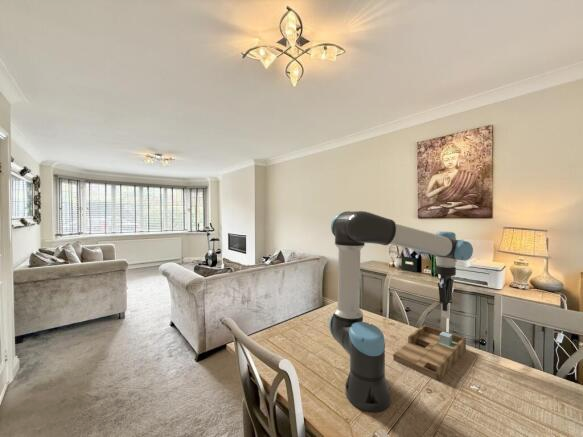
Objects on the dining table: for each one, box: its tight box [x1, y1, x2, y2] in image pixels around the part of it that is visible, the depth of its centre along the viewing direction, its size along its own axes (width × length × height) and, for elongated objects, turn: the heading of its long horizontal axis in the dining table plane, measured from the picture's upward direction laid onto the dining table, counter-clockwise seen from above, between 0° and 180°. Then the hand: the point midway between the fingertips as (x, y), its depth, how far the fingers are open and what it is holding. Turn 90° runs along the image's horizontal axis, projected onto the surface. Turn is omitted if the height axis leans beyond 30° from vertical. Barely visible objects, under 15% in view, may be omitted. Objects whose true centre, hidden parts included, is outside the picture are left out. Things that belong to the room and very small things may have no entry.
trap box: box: [392, 324, 467, 382], centre depth 109 cm, size 32×18×6 cm, turn 130°
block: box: [439, 331, 453, 346], centre depth 114 cm, size 4×4×4 cm
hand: (445, 317), depth 111 cm, fingers closed
